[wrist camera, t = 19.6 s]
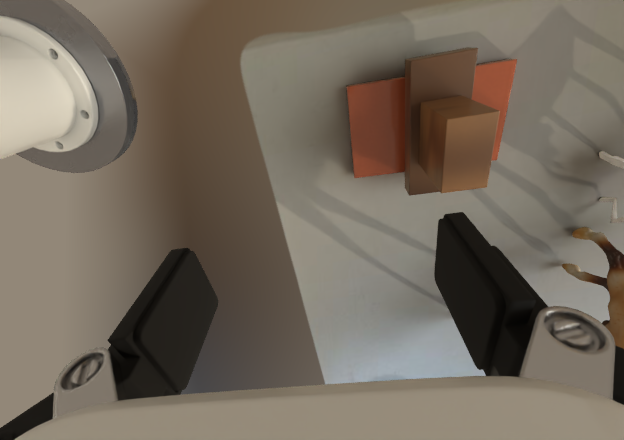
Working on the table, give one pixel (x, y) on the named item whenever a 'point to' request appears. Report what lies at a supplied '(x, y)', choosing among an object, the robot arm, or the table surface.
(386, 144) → the tile
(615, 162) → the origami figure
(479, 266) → the robot arm
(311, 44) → the table surface
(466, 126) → the brown stepped block
